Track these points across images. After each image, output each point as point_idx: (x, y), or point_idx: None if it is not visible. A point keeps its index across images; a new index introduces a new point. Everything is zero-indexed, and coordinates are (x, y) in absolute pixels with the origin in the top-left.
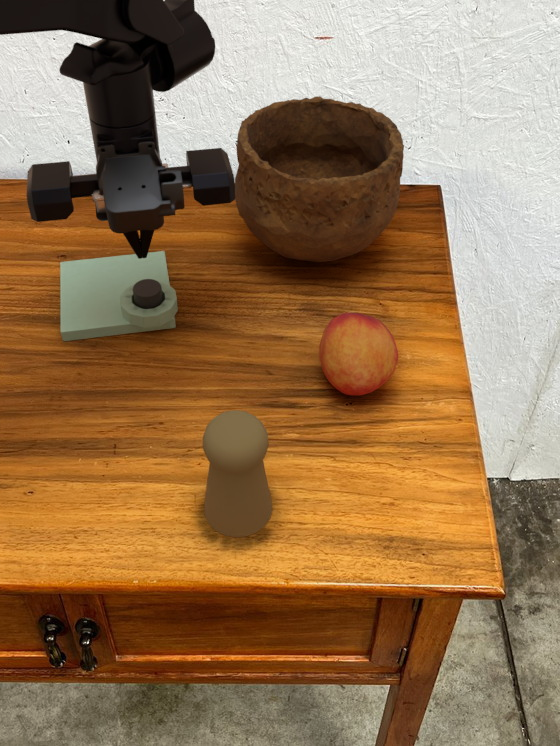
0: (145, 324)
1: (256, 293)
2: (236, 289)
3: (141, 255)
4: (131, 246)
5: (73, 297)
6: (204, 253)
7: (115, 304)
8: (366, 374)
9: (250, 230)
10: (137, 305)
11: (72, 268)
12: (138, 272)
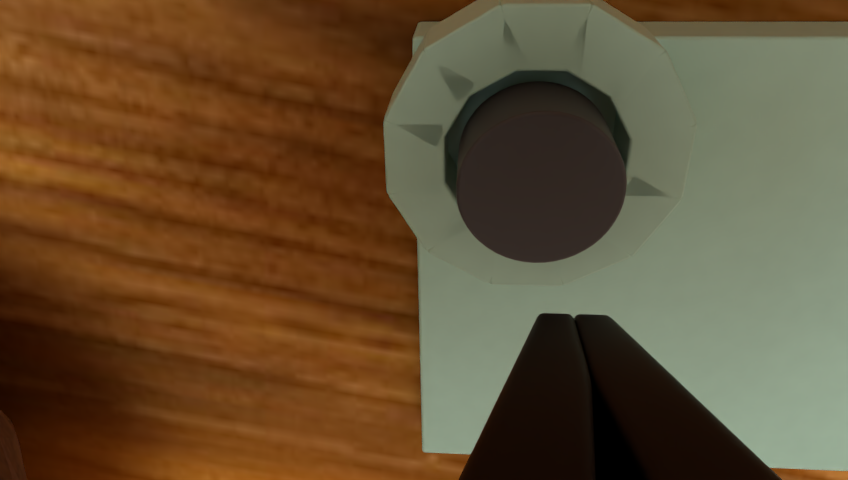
0: None
1: (56, 184)
2: (144, 222)
3: (584, 329)
4: (701, 407)
5: None
6: (279, 423)
7: (690, 192)
8: None
9: (6, 473)
10: (603, 117)
11: (814, 431)
12: None
